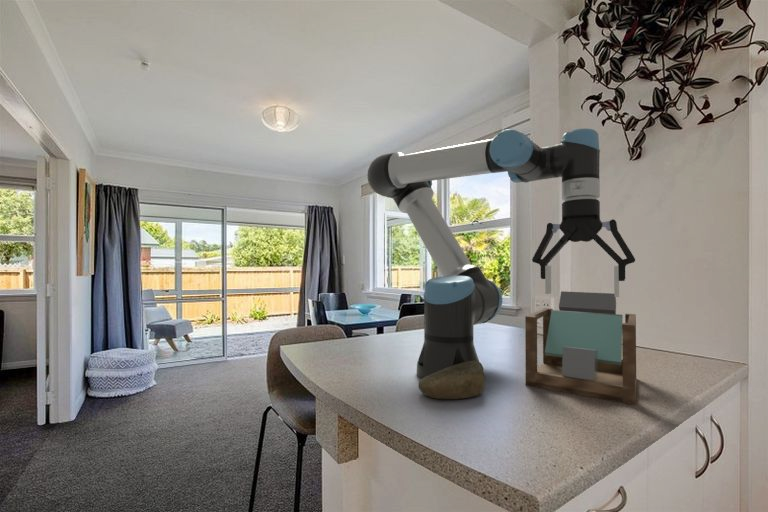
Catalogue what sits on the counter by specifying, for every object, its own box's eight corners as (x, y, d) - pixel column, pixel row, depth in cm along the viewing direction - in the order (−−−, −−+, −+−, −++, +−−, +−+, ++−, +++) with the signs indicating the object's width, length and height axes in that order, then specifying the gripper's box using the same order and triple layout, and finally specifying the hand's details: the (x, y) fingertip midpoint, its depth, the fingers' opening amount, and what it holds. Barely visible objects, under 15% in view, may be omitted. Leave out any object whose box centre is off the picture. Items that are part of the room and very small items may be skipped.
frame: (525, 385, 82) (525, 316, 82) (544, 365, 98) (544, 308, 99) (635, 404, 70) (634, 325, 71) (636, 378, 87) (635, 314, 87)
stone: (503, 389, 75) (486, 349, 73) (450, 432, 71) (430, 391, 68) (476, 374, 83) (460, 337, 81) (427, 412, 79) (408, 374, 76)
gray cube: (566, 373, 83) (562, 375, 78) (567, 346, 84) (562, 346, 79) (597, 378, 80) (594, 380, 75) (597, 349, 81) (594, 350, 76)
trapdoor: (547, 361, 89) (544, 352, 87) (556, 300, 100) (554, 290, 97) (621, 372, 80) (621, 362, 78) (623, 304, 91) (622, 293, 89)
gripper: (518, 202, 88) (519, 293, 87) (648, 191, 73) (649, 299, 73) (526, 207, 94) (527, 291, 93) (648, 197, 80) (649, 296, 79)
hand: (580, 295), depth 83 cm, fingers open, 13 cm apart
